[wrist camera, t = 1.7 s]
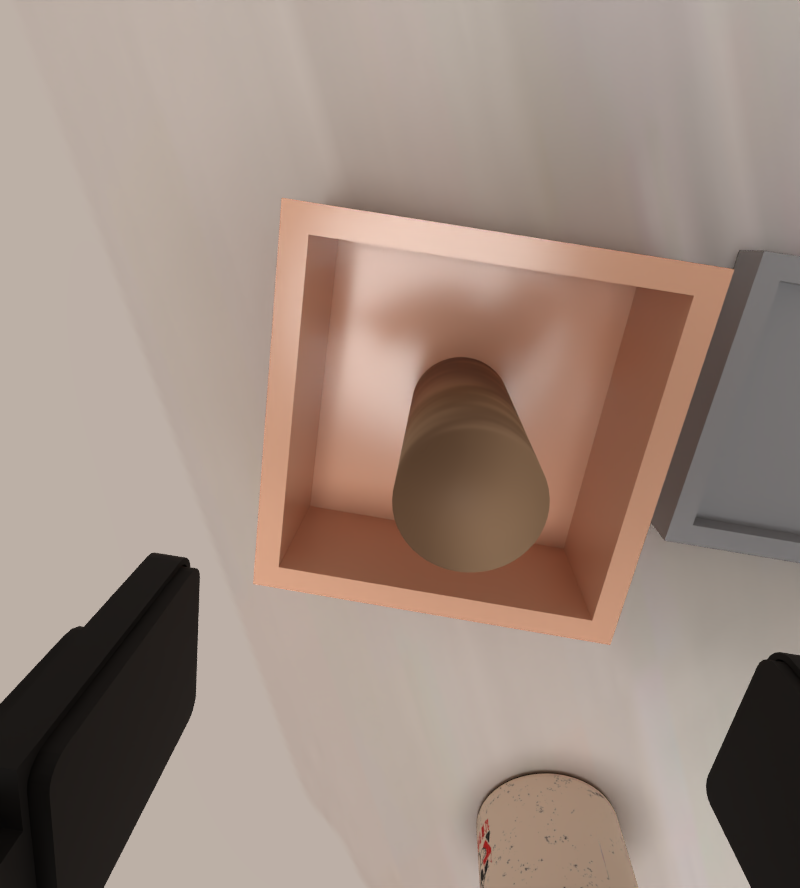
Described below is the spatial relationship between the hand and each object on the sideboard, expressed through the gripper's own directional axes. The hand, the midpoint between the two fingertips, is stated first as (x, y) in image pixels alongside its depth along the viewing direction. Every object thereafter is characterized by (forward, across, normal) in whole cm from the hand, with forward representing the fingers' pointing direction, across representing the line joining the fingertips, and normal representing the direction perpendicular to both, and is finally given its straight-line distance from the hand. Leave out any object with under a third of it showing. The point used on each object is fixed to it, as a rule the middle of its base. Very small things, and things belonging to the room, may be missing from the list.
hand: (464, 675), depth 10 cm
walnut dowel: (+18, -1, 0) cm, 18 cm away
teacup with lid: (+19, -12, +27) cm, 35 cm away
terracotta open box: (+19, -1, 0) cm, 19 cm away
